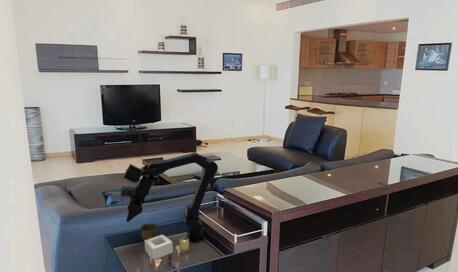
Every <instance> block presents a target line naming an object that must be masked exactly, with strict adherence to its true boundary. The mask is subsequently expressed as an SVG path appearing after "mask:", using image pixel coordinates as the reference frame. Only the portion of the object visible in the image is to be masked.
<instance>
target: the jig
mask: <svg viewBox="0 0 458 272" xmlns="http://www.w3.org/2000/svg"><path fill="white" fill-rule="evenodd" d="M143 241H144V251H145V252H146V254H148V256H149V257H150V258H151V259H152V260H154V259H155V260H157V258H158V259H160V258H163V257H165V256H167V255H170V254H173V253H174V246H173V241H172V240H171V239H170V238H168V237H167V236H166V235H164V234H160V235H156V237H154V238H151V239H148V240H143Z"/></svg>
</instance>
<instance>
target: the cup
mask: <svg viewBox="0 0 458 272" xmlns="http://www.w3.org/2000/svg"><path fill="white" fill-rule="evenodd" d="M157 228H158V226H157V224H155V223H152V222H150V223H149V222H148V223H144V224H141V227H139V229H140V233H141V238H142V239H143V241H145V240H148V239H151V238H154V237H157V231H158V230H157Z"/></svg>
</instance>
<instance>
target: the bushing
mask: <svg viewBox="0 0 458 272" xmlns="http://www.w3.org/2000/svg"><path fill="white" fill-rule="evenodd" d="M179 253H180V254H182V255H187V254H189V253H190V240H189V238H188V237H187V236H182V237H180V238H179Z"/></svg>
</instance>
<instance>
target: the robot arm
mask: <svg viewBox="0 0 458 272" xmlns="http://www.w3.org/2000/svg"><path fill="white" fill-rule="evenodd" d="M191 164H197V165H198V166H199V167H201V169H202V170H201V178H200V179H199V182H198V185H197V188H196V190H195V193H194V195H193V198H192V200H191V203H190V205H189V206H188V205H185V209H184V211H183V212H182V214H183V219H184V223H185V225H186V226H187V230H186V237H188V238H189V242H192V243H196V242H200V241H201V240H205V236H203V223H202V220H201V218H200V216H199V214H200V208H201V205H202V203H203V200H204V198H205V195H206V192H207V189H208V187H209V184H210V182H211V180H212V179H213V178H214V177H215V176H216V174H217V172H218V170H219V166H218V163H216V161H215V160H214V159H213V158H207V157H205V156H203V155H201V154H199V153H198V152H195V151H194V152H191V153H187V154H183V155H180V156H176V157H171V158H168V159H161V158H160V159H152V160H150V161H149V162H148V163H147V164H146V165H144V166H142V167H141V168H140V167H138V166H135V165H133V164H132V163H130V164H129V165H128V167H127V168H126V170H125V172H124V173H123V175H122V179H125V180H126V181H129V182H131V183H138V184H136V186H134V187H133V186H127V185H126V186H125V185H123V186H121V188H120V197H129V199H130V201H129V203H128V204H127V206H126V207H127V208H126V209H127V210H128V213H127V216H126V220H125V222H127V223H129V222H130V221H132V220H133V219H134V218H136V217H137V216H139V215H140V214H142V212H143V210H144V203H145V200H146V198H147V196H149V194H150V191H151V189H152V187H153V186H154V183H157V184H159V183H160V179H159V175H162V174H163V173H165V172H167V171H169V170H171V169H172V170H173V169H174V168H175V169H176V168H178V167H182V166H186V165H187V166H188V165H191Z"/></svg>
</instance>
